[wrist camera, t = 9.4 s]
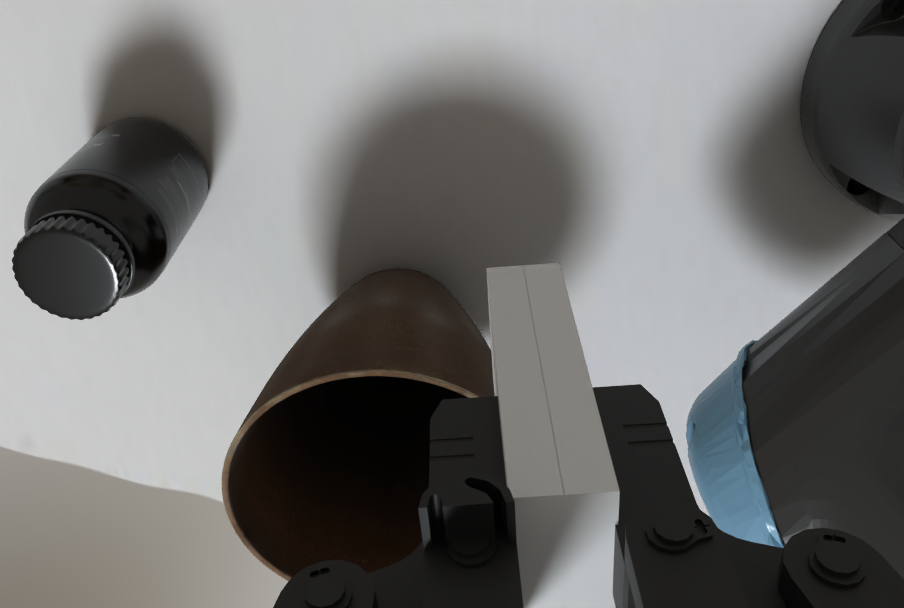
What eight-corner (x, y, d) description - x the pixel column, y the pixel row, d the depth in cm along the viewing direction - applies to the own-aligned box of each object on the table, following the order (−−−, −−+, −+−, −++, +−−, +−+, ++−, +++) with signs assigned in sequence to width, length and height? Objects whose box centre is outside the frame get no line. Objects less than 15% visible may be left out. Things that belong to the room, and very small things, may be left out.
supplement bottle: (100, 95, 44) (-3, 181, 34) (223, 141, 46) (160, 236, 35) (79, 203, 48) (-21, 311, 37) (195, 243, 49) (129, 357, 39)
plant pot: (384, 446, 57) (367, 646, 44) (229, 304, 51) (152, 484, 37) (561, 335, 53) (603, 519, 39) (413, 163, 47) (402, 310, 33)
